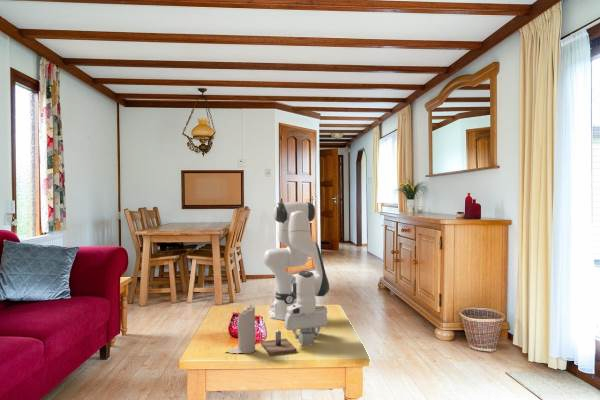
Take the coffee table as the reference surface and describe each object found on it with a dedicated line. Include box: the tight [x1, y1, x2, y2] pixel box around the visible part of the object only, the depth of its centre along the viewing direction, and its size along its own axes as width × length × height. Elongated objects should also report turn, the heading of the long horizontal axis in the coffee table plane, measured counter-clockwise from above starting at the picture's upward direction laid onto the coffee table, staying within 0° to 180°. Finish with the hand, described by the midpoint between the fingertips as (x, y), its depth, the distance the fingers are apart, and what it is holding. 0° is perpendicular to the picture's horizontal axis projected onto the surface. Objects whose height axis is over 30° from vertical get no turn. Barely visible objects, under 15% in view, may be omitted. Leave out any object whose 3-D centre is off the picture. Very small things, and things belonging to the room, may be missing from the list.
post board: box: [260, 338, 298, 357], centre depth 188 cm, size 15×12×2 cm
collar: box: [298, 330, 315, 347], centre depth 194 cm, size 5×5×5 cm
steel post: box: [275, 329, 282, 346], centre depth 188 cm, size 2×2×6 cm
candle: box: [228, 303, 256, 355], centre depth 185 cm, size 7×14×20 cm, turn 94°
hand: (306, 337), depth 194 cm, fingers open, 8 cm apart
